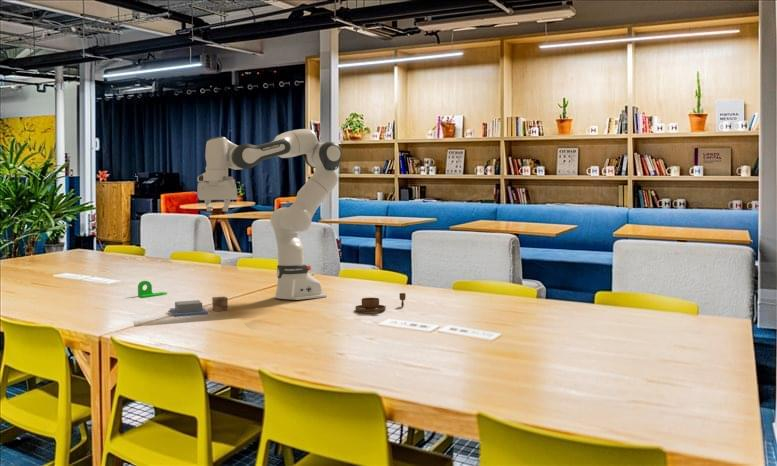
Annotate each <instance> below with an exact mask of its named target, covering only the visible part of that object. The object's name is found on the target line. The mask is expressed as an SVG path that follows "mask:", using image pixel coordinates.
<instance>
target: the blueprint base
mask: <svg viewBox="0 0 777 466" xmlns="http://www.w3.org/2000/svg"><path fill="white" fill-rule="evenodd" d="M169 311H170V312H171V314H172V315H173V316H174V317H187V316H200V315H201V316H203V315H209V312H208V310H207V309H205V308H204V307H203V302H201V300H198V299H197V300H194V299H193V300H182V301H181V300H180V301H179V300H177V301H174V307H171V308H170V309H169Z"/></svg>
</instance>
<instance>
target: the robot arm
mask: <svg viewBox="0 0 777 466" xmlns="http://www.w3.org/2000/svg"><path fill="white" fill-rule="evenodd" d="M298 156H302V157H303V159H304V162H305V163H306V165H307V166H308V167H310V168H312V169H314V173H313V174H312V176H310V178H309V179H308V180H307V181H306V182H305V184H304V185H302V187H300V189H299V190H298V191H297V194H296V197H295V200H294V201H293V203H292V204H291V205H290V206H289V207H280V208H278V209H275V210H274V211H273V212H272V213H271V215H270V218H269V221H270V224H271V226H272V229H273V232H274V234H275V240H276V245H277V265H276V266H277V267H276V277H277V284H276V292H275V295H274V298H275V299H279V300H280V299H281V300H294V301H295V300H296V301H297V300H300V301H301V300H307V299H317V298H319V299H321V298H327V297H328V294H327V292H323V288H322V284H321V281H320V280H318V279H317V278H315V276H313V275H312V274H310V273H309V271H311V270H312V266H311V265H306V264H305V262H304V261H305V259H304V258H305V255H304V254H305V253H304V251H305V250H304V249H305V247H304V245H303V243H302V241H301V238H300V234H302V233H304V232H305V231H307V230H309V228H310V227H311V225H312V219H313V217H314V215H315V213H316V212H317V210H318V208H319V207H320V206H321V205H322V203H323V202H324V201H325V200H326V198H328V196H329V195H330V194H331V192H332V191H333V189H334V188H335V186H336V184H337V183H338V180H339V176H338V173H337V171H336V170H337V169H338V168H339V167H340V166H339V165H340V162H341V160H342V157H343V149H342V148H341V146H340V145H339V144H338V143H336V142H333V141H325V142H323V141H322V142H320V141H319V139H318V137H317V134H316V132H315V131H314V130H312V129H310V128H299V129H293V130H289V131H285V132H282V133H280V134H278V135H276V136H275V137H274V139H273V140H272V141H270V142H266V143H262V144H252V143H242V144H239V145H237V144H235V143H233V142H232V141H230V140H228V139H227V137H225V136H218V137H217V136H216V137H211V138H209V139H208V140H207V141H206V144H205V161H206V162H205V163H206V166H205V172H203V173H202V174H200V175H198V176H197V179H196V180H197V182H198V183H197V199H198V200H199V201H204V204H205V206H206V212H213V211H214V210H213V206H212V205H211V202H212V201H221V200H222V201H223V203H224V204H223V206H222V211H223V212H228V211H229V206H230V204H231V201H232V200H234V201H236V200H237V198H238V191H237V190H238V189H237V185H236V178H234V177H233V176H229V169H232V170H235V171H236V170H249V169H250V170H251V169H252V168H254V167H255V166H257V165H258V164H259V163H260V162H261V161H265V160H268V159H271V158H275V157H279V158H281V159H289V158H293V157H298Z"/></svg>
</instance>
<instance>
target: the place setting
mask: <svg viewBox="0 0 777 466" xmlns="http://www.w3.org/2000/svg"><path fill="white" fill-rule="evenodd" d="M406 294H407V293H405V292H400V293H399V300H400V301H401V303H400V304H401V307H403V308H404V305H405V303H404V302H405V300H406V298H407V297H406ZM354 308H355V311H357V314H358V315H361V314H373V315H375V314H378V313H381V312H384V311H385V310H386V309H387V306H386V305H384V304H380V298H379V297H362V298H361V304H358V305H355V307H354Z"/></svg>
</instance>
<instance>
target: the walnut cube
mask: <svg viewBox="0 0 777 466" xmlns="http://www.w3.org/2000/svg"><path fill="white" fill-rule="evenodd" d="M211 301H212V311H214V312H222V311H223V312H227V311H228V310H229V306H228V305H229V304H228V303H229V302H228V297H226V296H213V297H212V300H211Z"/></svg>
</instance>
